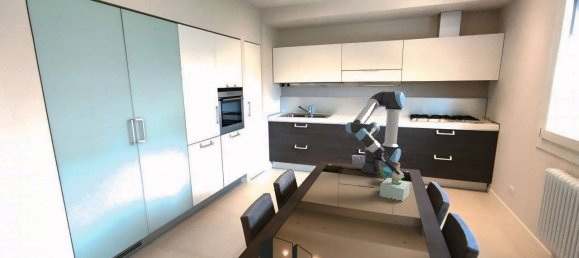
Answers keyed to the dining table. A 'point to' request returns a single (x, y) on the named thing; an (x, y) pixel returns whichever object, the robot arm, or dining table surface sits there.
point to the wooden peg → (394, 176)
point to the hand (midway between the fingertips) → (402, 176)
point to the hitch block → (394, 189)
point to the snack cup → (387, 173)
